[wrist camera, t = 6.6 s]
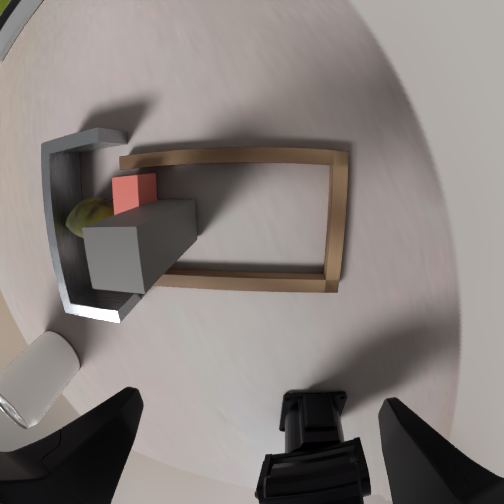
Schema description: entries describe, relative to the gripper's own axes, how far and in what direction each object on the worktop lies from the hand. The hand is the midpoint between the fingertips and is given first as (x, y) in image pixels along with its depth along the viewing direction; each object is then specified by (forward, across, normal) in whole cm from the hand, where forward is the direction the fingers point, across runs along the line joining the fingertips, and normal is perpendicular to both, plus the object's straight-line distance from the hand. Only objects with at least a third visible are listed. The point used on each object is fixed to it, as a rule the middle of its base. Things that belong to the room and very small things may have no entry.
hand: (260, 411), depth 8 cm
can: (+13, +25, +12) cm, 31 cm away
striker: (+13, +8, -4) cm, 15 cm away
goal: (+13, +14, -4) cm, 19 cm away
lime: (+13, +13, -4) cm, 19 cm away
